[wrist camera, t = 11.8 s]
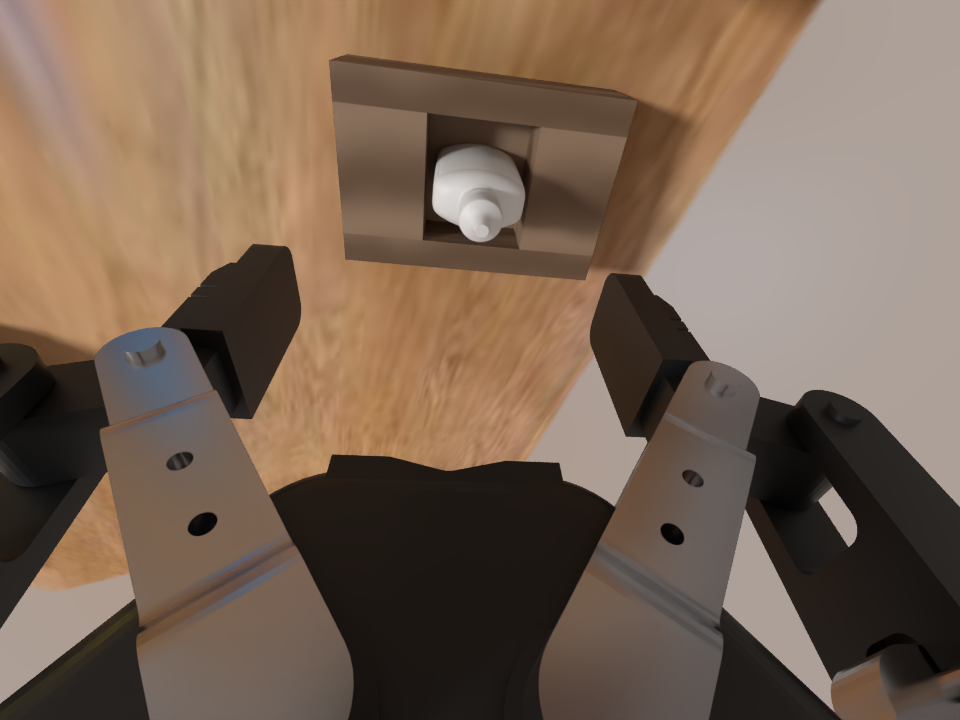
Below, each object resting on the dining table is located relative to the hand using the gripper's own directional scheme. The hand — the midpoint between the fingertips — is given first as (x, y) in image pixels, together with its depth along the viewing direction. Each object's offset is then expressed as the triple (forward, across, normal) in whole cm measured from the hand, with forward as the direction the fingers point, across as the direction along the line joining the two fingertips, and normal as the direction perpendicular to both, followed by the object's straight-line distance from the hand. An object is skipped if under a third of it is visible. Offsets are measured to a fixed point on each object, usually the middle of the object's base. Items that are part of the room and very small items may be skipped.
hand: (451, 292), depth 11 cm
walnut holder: (+24, -2, +4) cm, 25 cm away
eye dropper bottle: (+24, -2, +3) cm, 24 cm away
